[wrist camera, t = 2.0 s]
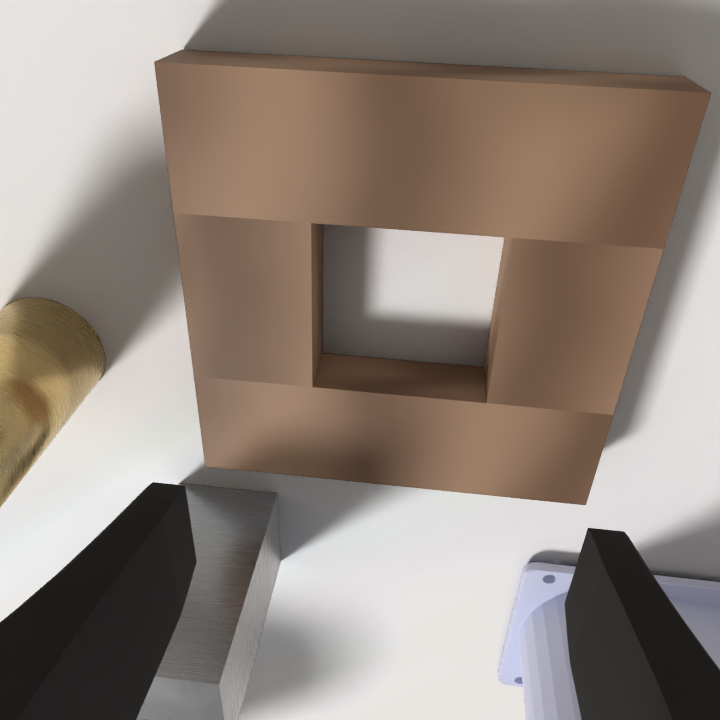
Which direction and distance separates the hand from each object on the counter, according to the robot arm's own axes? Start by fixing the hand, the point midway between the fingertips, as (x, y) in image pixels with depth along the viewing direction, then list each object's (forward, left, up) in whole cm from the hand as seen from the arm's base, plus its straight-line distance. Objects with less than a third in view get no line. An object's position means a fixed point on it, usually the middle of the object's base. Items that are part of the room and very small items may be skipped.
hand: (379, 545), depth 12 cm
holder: (0, 0, -10) cm, 10 cm away
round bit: (+12, +4, -10) cm, 17 cm away
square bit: (+6, +12, -10) cm, 17 cm away
